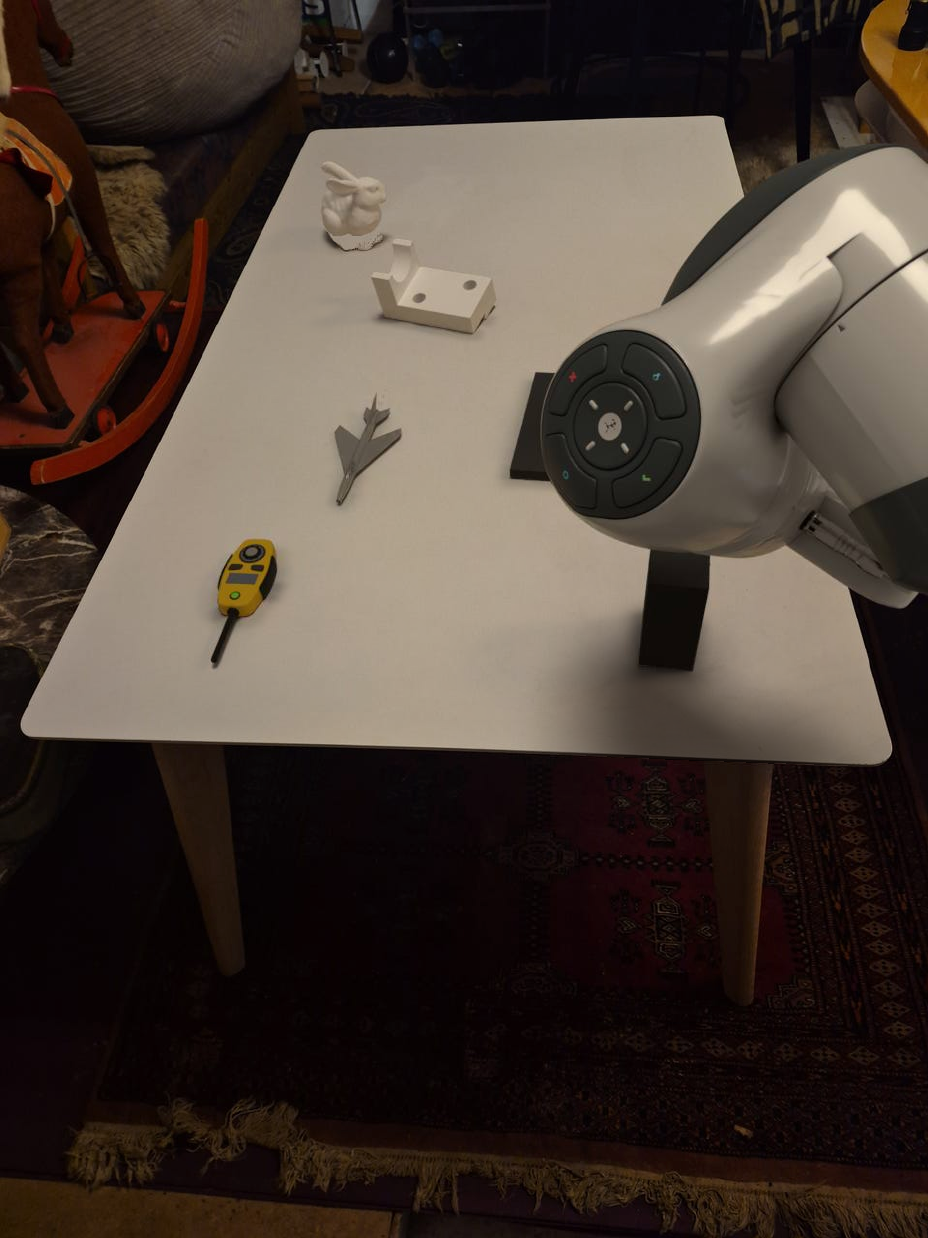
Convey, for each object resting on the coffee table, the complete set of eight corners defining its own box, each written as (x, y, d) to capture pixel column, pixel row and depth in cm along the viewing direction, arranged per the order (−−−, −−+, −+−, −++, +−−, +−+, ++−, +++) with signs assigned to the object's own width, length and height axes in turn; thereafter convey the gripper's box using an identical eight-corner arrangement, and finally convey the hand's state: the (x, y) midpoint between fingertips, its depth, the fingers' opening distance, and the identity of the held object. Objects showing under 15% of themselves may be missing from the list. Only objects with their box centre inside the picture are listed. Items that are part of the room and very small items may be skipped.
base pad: (656, 386, 98) (659, 357, 95) (646, 487, 87) (649, 458, 84) (535, 380, 101) (535, 352, 98) (510, 478, 89) (508, 449, 87)
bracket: (387, 322, 114) (371, 276, 107) (409, 284, 117) (395, 238, 110) (474, 339, 110) (463, 292, 103) (496, 299, 112) (486, 251, 106)
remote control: (282, 536, 83) (235, 655, 73) (286, 550, 85) (241, 669, 75) (234, 534, 84) (182, 652, 74) (240, 549, 85) (189, 666, 76)
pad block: (695, 617, 75) (710, 533, 67) (692, 671, 71) (709, 588, 64) (642, 612, 76) (652, 529, 68) (637, 665, 72) (647, 583, 64)
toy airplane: (303, 504, 89) (298, 487, 87) (356, 388, 102) (353, 372, 101) (374, 509, 88) (370, 492, 86) (419, 391, 101) (416, 374, 99)
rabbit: (399, 241, 128) (388, 155, 119) (351, 266, 124) (336, 179, 115) (348, 220, 134) (333, 137, 125) (300, 243, 130) (282, 159, 121)
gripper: (958, 534, 39) (975, 546, 51) (622, 330, 48) (701, 379, 60) (868, 642, 42) (904, 630, 53) (563, 428, 50) (650, 458, 62)
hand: (795, 496), depth 56 cm, fingers open, 8 cm apart
